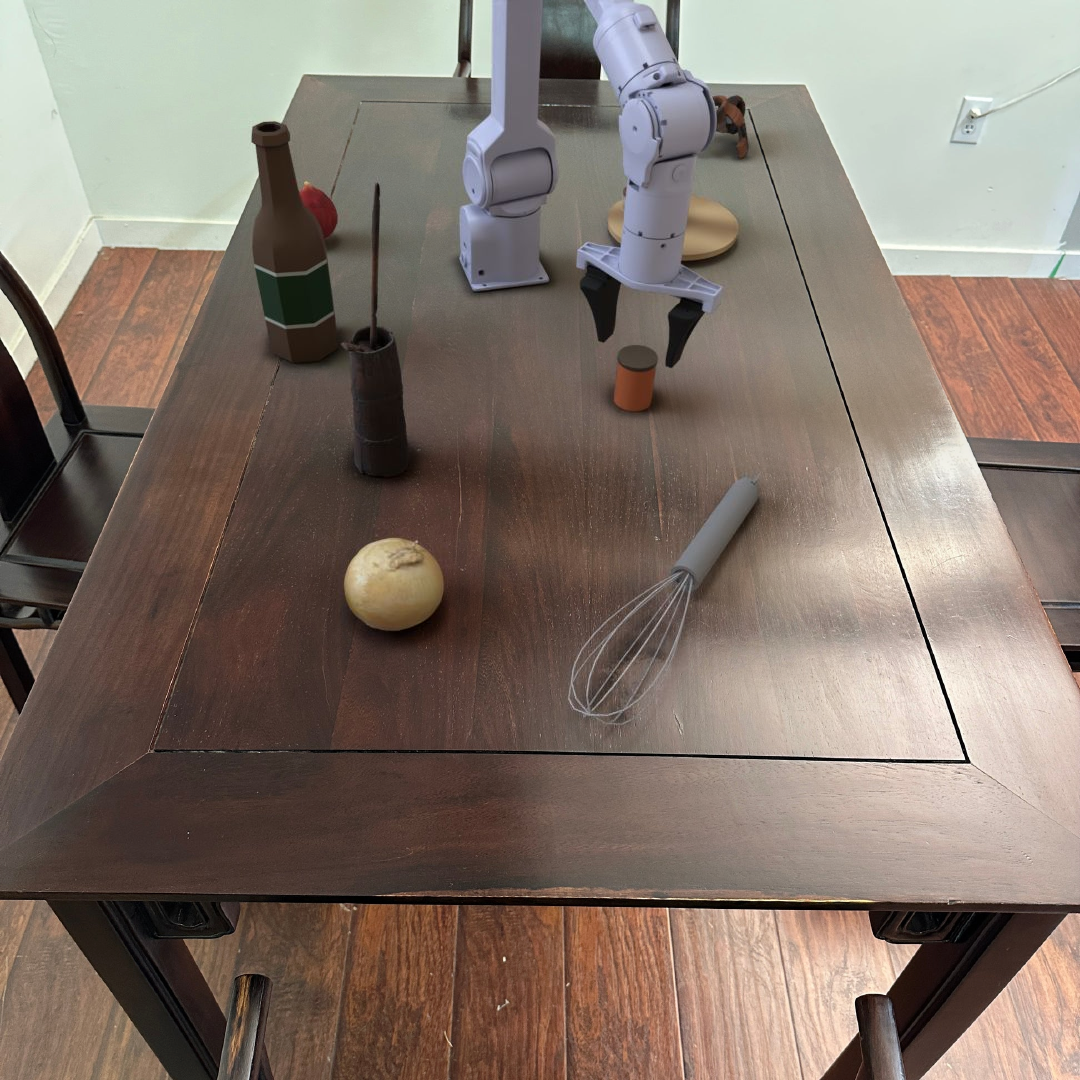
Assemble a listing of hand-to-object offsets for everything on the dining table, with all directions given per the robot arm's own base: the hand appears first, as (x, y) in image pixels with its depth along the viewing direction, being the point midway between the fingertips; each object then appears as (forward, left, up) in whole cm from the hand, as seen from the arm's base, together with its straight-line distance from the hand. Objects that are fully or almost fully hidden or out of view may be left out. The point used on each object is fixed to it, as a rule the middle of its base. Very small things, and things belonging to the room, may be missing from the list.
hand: (638, 349), depth 97 cm
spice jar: (0, 0, -6) cm, 6 cm away
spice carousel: (+17, +32, -5) cm, 37 cm away
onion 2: (-29, -22, -6) cm, 37 cm away
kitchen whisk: (-6, -27, -6) cm, 28 cm away
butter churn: (-28, -4, -6) cm, 29 cm away
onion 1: (-28, +40, -6) cm, 49 cm away
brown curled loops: (+34, +56, -6) cm, 66 cm away
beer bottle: (-32, +18, -6) cm, 37 cm away
